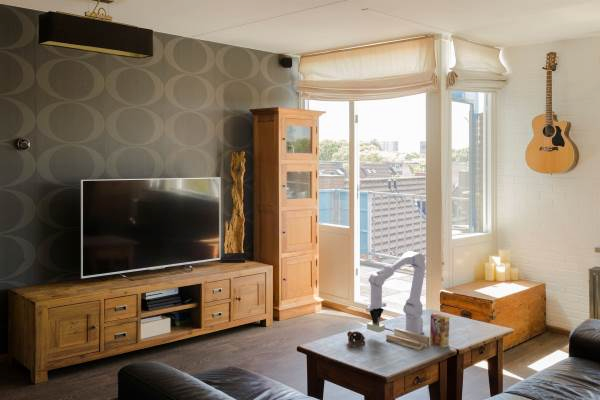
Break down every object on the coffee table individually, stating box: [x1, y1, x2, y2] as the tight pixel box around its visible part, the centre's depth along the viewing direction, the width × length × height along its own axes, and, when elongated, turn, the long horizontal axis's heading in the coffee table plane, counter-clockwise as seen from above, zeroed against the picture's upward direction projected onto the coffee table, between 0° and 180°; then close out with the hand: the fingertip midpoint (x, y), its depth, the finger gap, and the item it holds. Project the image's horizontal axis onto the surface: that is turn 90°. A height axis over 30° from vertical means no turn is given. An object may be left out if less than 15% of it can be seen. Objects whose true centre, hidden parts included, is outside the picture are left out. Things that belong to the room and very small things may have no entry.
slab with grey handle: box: [366, 317, 386, 333], centre depth 299 cm, size 4×8×7 cm, turn 45°
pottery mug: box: [346, 330, 366, 348], centre depth 290 cm, size 12×10×8 cm
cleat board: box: [385, 327, 430, 351], centre depth 294 cm, size 9×20×4 cm, turn 45°
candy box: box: [429, 312, 450, 349], centre depth 291 cm, size 9×4×15 cm, turn 39°
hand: (375, 322), depth 299 cm, fingers closed on slab with grey handle
